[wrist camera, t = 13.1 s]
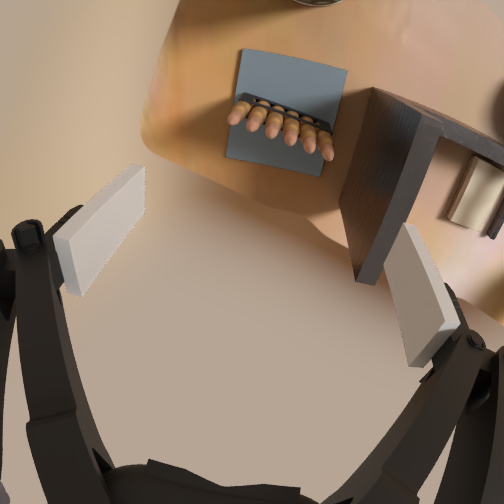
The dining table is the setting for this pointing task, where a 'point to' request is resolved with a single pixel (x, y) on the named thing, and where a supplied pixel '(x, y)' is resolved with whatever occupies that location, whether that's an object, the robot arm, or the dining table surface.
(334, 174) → the dining table surface
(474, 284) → the dining table surface
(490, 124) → the dining table surface
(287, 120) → the ammunition clip
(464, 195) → the offcut upper
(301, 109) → the mat
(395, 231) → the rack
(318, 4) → the coffee can
